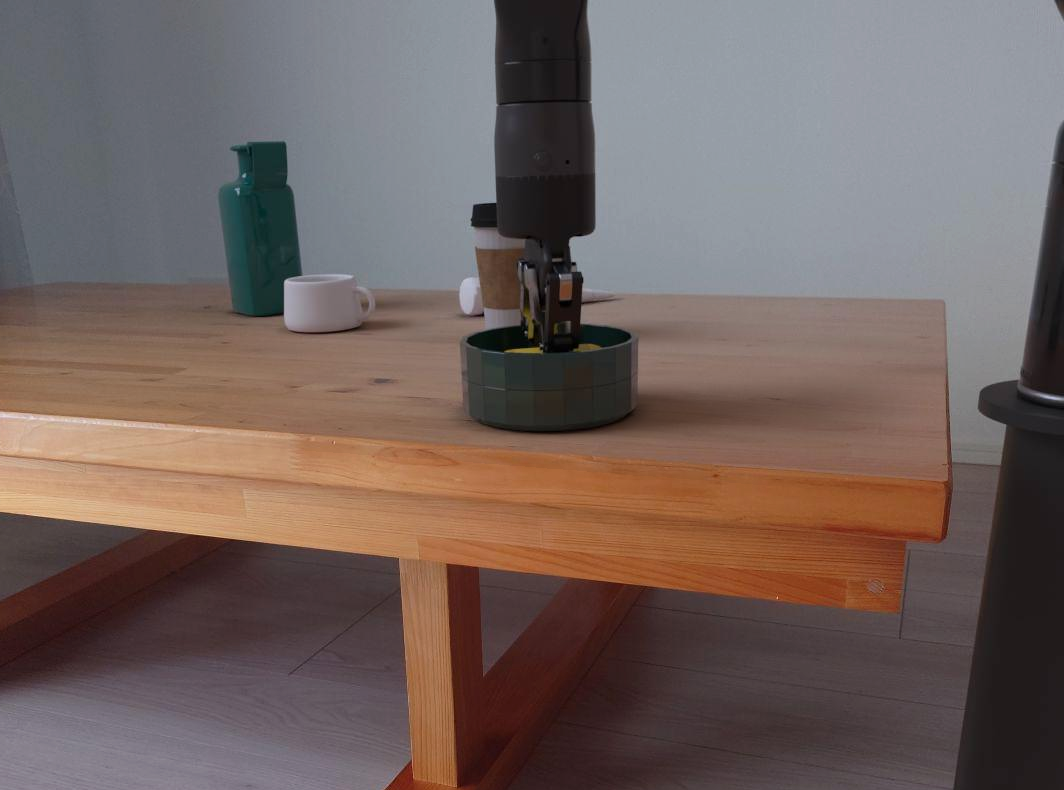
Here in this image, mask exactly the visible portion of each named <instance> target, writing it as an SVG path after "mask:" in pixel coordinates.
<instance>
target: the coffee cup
mask: <svg viewBox="0 0 1064 790" xmlns="http://www.w3.org/2000/svg"><path fill="white" fill-rule="evenodd" d="M471 211H472V214H471V218H470V227H473V228H474V237H475V244H476V246H474V252H475V258H476V265H477V266H476V267H477V273H478V278H479V281H480V288H481V295H482V303H483V307H484V314H483V316H484V325H485V330H486V329H491V328H498V327H505V326H513V325H520V321H521V312H520V299H519V286H518V273H517V268H516V262H517V258H524V253H525V240H526V239H513V238H505V237H503V236H501V235H500V234H499V233H498V230H497V206H496V202H485V203H484V202H483V203H474V204H473V205H472V210H471ZM529 302H530V301H529Z"/></svg>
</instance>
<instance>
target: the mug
mask: <svg viewBox="0 0 1064 790" xmlns="http://www.w3.org/2000/svg"><path fill="white" fill-rule="evenodd" d="M360 294H361V295H364V296H366V298H367V300H368V308H367V310H366V312H363V308H362V304H361V299H360ZM375 310H376V299H375V297H374V294H373V293H372V292H371V291H370V290H369V289H368V288H366V287H365V286H358V283H357V279H356V276H354V275H353V274H351V275H350V274H342V273H329V274H328V273H325V274H309V275H302V276H299V277H293V278H289V279H286V280H285V281H284V314H283V321H284V325H285V327H286V328H287V329H288V331H292V332H298V333H299V332H300V333H331V332H332V333H333V332H340V331H346V330H351V329H355V328H358V327H360V326H361V325H362V323H363V322H364V321H367V320H368V319H370V318H372V316H373V315H374V314H375Z"/></svg>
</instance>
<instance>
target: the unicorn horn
mask: <svg viewBox="0 0 1064 790" xmlns="http://www.w3.org/2000/svg"><path fill="white" fill-rule="evenodd" d="M458 296H459V304H460V308H461V310H462V312H463V313H464V314H465V315H466V316H471V317H474V316H481V315H482V314H483V315H484V307H483V303H482V295H481V288H480V281H479V277H472V276H471V277H466V278H465V279H463V280H462V282H461V284H460V287H459V295H458ZM616 296H618V294H617V293H615V292H612V291H607V290H606V291H605V290H599V289H594V288H584V287H582V303H589V302H594V301H595V300H596V301H600V300H606V299H610V298H613V297H616Z"/></svg>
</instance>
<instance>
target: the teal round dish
mask: <svg viewBox="0 0 1064 790" xmlns="http://www.w3.org/2000/svg"><path fill="white" fill-rule="evenodd" d="M557 331H558V334H561V333H564V332H563V326H562V325H561V324H557ZM524 332H525V331H523V330H522V326H521V325H513V326H505V327H498V328H491V329H486V328H485V329H482V330H478V331H474V332H471V333H469V334H467V335H464V336H462V337H461V339H460V341H459V354H460V355H459V356H460V371H461V372H460V373H461V390H462V391H461V393H462V408H463V410H464V411H465V412H466V413H467V414H468V415H469V416H471V417H473V419H475V421H477V422H479V423H481V424H484V425H487V426H490V427H493V428H498V429H504V430H511V431H519V432H564V431H565V432H566V431H575V430H577V431H578V430H585V429H591V428H596V427H600V426H605V425H608V424H611V423H614V422H617V421H619V420H621V419H623V418H624V417H626V416H627V414H628V413H630V412H632V411H633V410H634V409H635V408H636V407H637V406H638V405H639V403H638V402H639V401H638V400H639V399H638V396H639V393H638V392H639V336H638V335H637V332H635V331H632V330H630V329H627V328H625V327H624V328H623V327H618V326H614V325H608V324H607V325H606V324H596V323H581V322H580V344H594V345H598V346H600V347H602V348H599V349H593V350H586V351H574V352H562V353H514V352H504V351H507V350H512V349H525V348H529V344H528V343H532V341H530V342H527V341H526V337H525V336H524Z"/></svg>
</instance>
